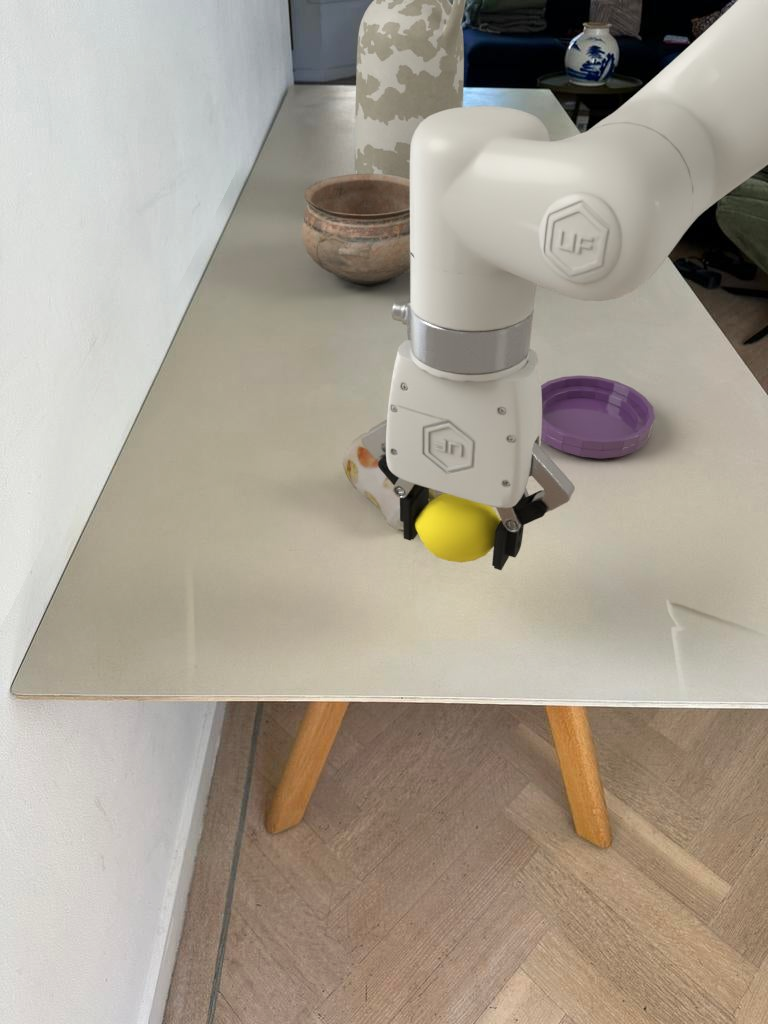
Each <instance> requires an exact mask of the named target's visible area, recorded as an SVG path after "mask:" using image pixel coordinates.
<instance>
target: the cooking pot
mask: <svg viewBox="0 0 768 1024" xmlns="http://www.w3.org/2000/svg"><path fill="white" fill-rule="evenodd" d="M304 198H305V201H306V202H307V205H306V208H305V211H304V215H303V220H302V224H301V237H302V238H301V239H302V242H303V245H304V247H305V250H306V252H307V254H308V255H309V257H310V259H312V261H314V262H315V264H317V266H319V267H320V268H321V269H323V270H325V271H326V272H327V273H330V274H332V275H333V276H336V277H339V278H341V279H343V280H346V281H348V282H349V283H351V284H354V285H359V286H375V285H381V284H383V283H386V282H387V281H388V280H391V279H393V278H396V277H398V276H400V275H402V274H405V273H406V272H408V271H410V179H407V178H403V177H398V176H392V175H383V174H355V173H354V174H344V175H338V176H332V177H328V178H325V179H322V180H319V181H317V182H314V183H313V184H311V185H309V186H308V187H307V188H306V189H305V191H304Z"/></svg>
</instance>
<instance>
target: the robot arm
mask: <svg viewBox="0 0 768 1024" xmlns="http://www.w3.org/2000/svg"><path fill="white" fill-rule="evenodd" d="M766 166H768V0H736V2H735V3H734V4H733V5H731V7H729V8H728V9H727V10H726V11H725V12H724V13H723V14H722V15H721V16H720V17H719V18H717V20H715V22H714V23H712V24H711V25H710V26H709V27H708V28H707V29H706V30H705V31H704V32H702V34H700V35H699V36H698V37H697V38H696V39H695V40H693V42H692V43H691V44H690V45H688V46H687V47H686V48H685V49H684V50H683V51H682V52H681V53H679V55H677V56H676V57H675V58H674V59H673V60H672V61H671V62H670V63H669V64H668V65H666V66H665V67H664V68H663V69H662V70H661V71H659V73H658V74H656V75H655V76H654V77H653V78H652V79H651V80H650V81H649V82H647V83H646V84H645V85H644V86H643V87H642V88H640V90H638V91H637V92H636V93H635V94H634V95H633V96H632V97H630V98H629V99H628V100H627V101H626V102H624V103H623V104H622V105H621V106H619V107H618V108H617V109H616V110H615V111H613V112H612V113H611V114H608V116H606V117H605V118H603V119H601V120H600V121H599V122H597V123H595V125H593V126H592V127H591V128H589V129H588V130H587V131H584V132H581V133H578V134H576V135H573V136H569V137H566V138H563V139H559V140H554V141H553V140H551V138H550V134H549V131H548V129H547V127H546V126H545V123H544V122H543V121H542V120H540V119H539V118H538V117H537V116H535V115H534V114H531V113H528V112H526V111H524V110H520V109H518V108H517V109H516V108H512V107H505V106H495V105H473V106H472V105H470V106H463V107H459V108H452V109H448V110H444V111H441V112H438V113H435V114H433V115H430V116H428V117H427V118H426V119H425V120H423V121H422V122H421V123H420V124H419V126H418V127H417V129H416V131H415V132H414V135H413V138H412V141H411V147H410V269H409V279H410V280H409V292H410V293H409V295H410V297H409V298H410V299H409V298H408V299H406V300H404V299H399V298H398V299H396V300H395V301H394V302H393V304H392V308H391V317H392V320H394V321H397V322H401V323H402V324H403V325H405V326H406V327H407V328H406V329H407V331H406V332H407V333H406V334H407V335H406V336H407V339H405V340H404V341H403V342H401V343H400V344H399V346H398V348H397V352H396V355H395V356H396V357H395V360H394V365H393V370H392V377H391V381H390V382H391V383H390V389H389V396H388V404H387V414H386V415H387V416H386V419H385V420H383V421H382V422H380V423H378V424H377V425H375V426H373V427H371V428H370V429H369V430H368V431H367V433H366V432H365V433H366V435H365V436H364V437H363V438H362V443H363V445H364V446H365V447H366V449H367V450H368V451H369V453H370V454H371V455H372V456H373V458H374V459H377V461H378V466H379V468H380V470H381V471H382V472H383V473H384V474H385V475H386V477H387V478H388V479H389V480H390V481H391V483H392V484H393V485H394V487H393V492H394V494H395V495H396V496H397V497H399V498H400V521H401V522H403V539H404V540H407V541H412V540H415V539H416V537H417V536H418V535H419V534H418V532H417V530H416V528H415V524H414V522H415V520H416V518H417V516H418V515H419V513H420V512H421V511H422V509H423V508H424V507H425V506H426V505H427V504H428V503H429V502H430V499H429V488H430V489H431V490H432V491H437V492H440V493H442V494H445V493H447V494H450V495H453V496H457V497H460V498H463V499H467V500H470V501H474V502H477V503H481V504H484V505H488V506H491V507H492V508H496V511H497V513H498V517H499V518H500V520H501V521H500V523H499V525H498V526H497V528H496V531H495V540H494V547H493V550H492V551H493V552H492V563H491V566H492V567H493V569H495V570H499V571H502V570H503V568H504V566H505V565H506V563H507V562H508V559H509V558H510V557H511V558H514V559H515V558H516V557H517V556H518V554H519V552H520V550H521V547H522V543H523V537H524V536H523V534H524V527H525V525H527V524H530V523H532V522H534V521H536V520H539V519H540V518H543V517H544V516H545V514H546V513H548V512H550V511H554V510H555V509H557V508H559V507H561V506H563V505H565V504H567V503H568V502H570V500H571V498H572V496H573V494H574V492H575V491H576V487H575V485H574V483H573V482H572V481H571V479H569V478H568V477H567V475H565V473H564V472H563V471H562V470H561V468H559V466H558V465H557V464H556V463H555V462H554V460H553V459H551V457H550V456H549V455H548V454H547V453H546V451H545V450H544V449H543V448H542V447H541V446H542V440H541V432H542V391H541V385H542V378H541V369H540V362H539V356H538V353H537V352H536V350H534V349H532V348H530V347H531V339H532V329H533V321H534V310H535V301H536V292H537V286H538V287H540V288H541V287H542V288H544V289H546V290H548V291H551V292H553V293H556V294H558V295H561V296H564V297H567V298H570V299H576V300H580V301H585V302H586V301H587V302H603V301H610V300H616V299H619V298H622V297H624V296H626V295H628V294H630V293H632V292H634V291H636V290H637V289H639V288H640V287H642V286H643V285H644V284H646V283H647V282H648V281H649V280H650V279H651V278H652V277H653V276H654V274H656V273H657V271H658V270H659V269H660V268H661V266H662V265H663V263H664V262H665V260H666V259H668V256H669V255H670V254H671V252H673V250H674V248H675V247H676V246H677V245H678V243H679V242H680V240H681V239H682V238H683V236H684V235H685V233H686V232H687V231H688V229H689V228H690V227H691V226H692V225H693V223H694V222H695V221H696V220H698V218H699V217H700V216H701V215H702V214H703V213H705V211H707V210H709V208H710V207H712V206H713V205H715V204H716V203H717V202H718V201H720V200H721V199H722V198H724V197H725V196H726V195H728V194H729V193H731V192H732V191H733V190H734V189H736V188H737V187H739V186H740V185H742V184H743V183H744V182H746V181H747V180H748V179H750V178H751V177H753V176H754V175H756V174H757V173H759V172H761V170H762V169H764V168H765V167H766ZM530 477H533V479H534V480H535V481H536V482H537V483H538V484H539V486H540V487H541V488H542V489H541V490H538V491H537V492H534V493H532V494H530V495H529V492H528V489H527V485H528V482H529V478H530Z"/></svg>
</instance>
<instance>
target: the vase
mask: <svg viewBox="0 0 768 1024" xmlns="http://www.w3.org/2000/svg"><path fill="white" fill-rule="evenodd" d="M466 2H467V1H466V0H453V1H452V2H451V1H450V0H372V2H370V4H369V5H368V7H367V8H366V10H365V11H364V14H363V15H362V18H361V21H360V23H359V24H360V25H359V28H358V29H359V30H358V35H357V45H356V46H357V47H356V75H355V78H356V79H355V107H354V108H355V110H354V111H355V112H354V113H355V114H354V174H383V175H392V176H398V177H403V178H407V179H410V147H411V141H412V138H413V135H414V132H415V131H416V129H417V127H418V126H419V124H420V123H421V122H422V121H423V120H425V119H426V118H427V117H428V116H430V115H433V114H435V113H438V112H441V111H444V110H448V109H452V108H459V107H464V81H465V80H464V79H465V78H464V77H465V76H464V75H465V74H464V73H465V69H464V68H465V46H464V44H465V43H464V32H463V26H462V21H463V17H464V13H465V8H466Z"/></svg>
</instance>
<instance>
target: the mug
mask: <svg viewBox="0 0 768 1024" xmlns="http://www.w3.org/2000/svg"><path fill="white" fill-rule="evenodd" d="M367 432H368V431H367ZM367 432H364V433H362V434H360V435H359V436H357V437H356V438H355V439H354V440H352V442H351V443H350V444H349V446H348V447H347V448H346V450H345V452H344V454H343V457H342V461H341V462H342V463H341V464H342V467H343V470H344V473H345V475H346V478H347V479H348V481H349V482H350V484H351V485H352V486H353V487H354V489H356V490H357V491H358V492H359V493H360V494H361V495H362V496H364V497H365V498H366V499H368V500H369V501H371V502H372V503H374V505H375V506H377V507H378V509H379V510H380V512H381V513H382V515H383V517H384V519H385V521H386V523H387V525H388V527H391V528H393V529H397V530H401V531H402V530H403V522H401V521H400V498H399V497H397V496H396V495H395V494H394V492H393V487H394V485H393V484H392V483H391V481H390V480H389V479H388V478H387V477H386V475H385V474H384V473H383V472H382V471H381V470H380V468H379V466H378V461H377V459H374V458H373V456H372V455H371V454H370V453H369V451H368V450H367V449H366V447H365V446H364V445H363V443H362V438H363V437H364V436H365V435H366V433H367ZM436 497H438V496H437V494H436V493H435V492H434V490H433V489H430V488H429V501H431V500H433V499H435V498H436Z"/></svg>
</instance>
